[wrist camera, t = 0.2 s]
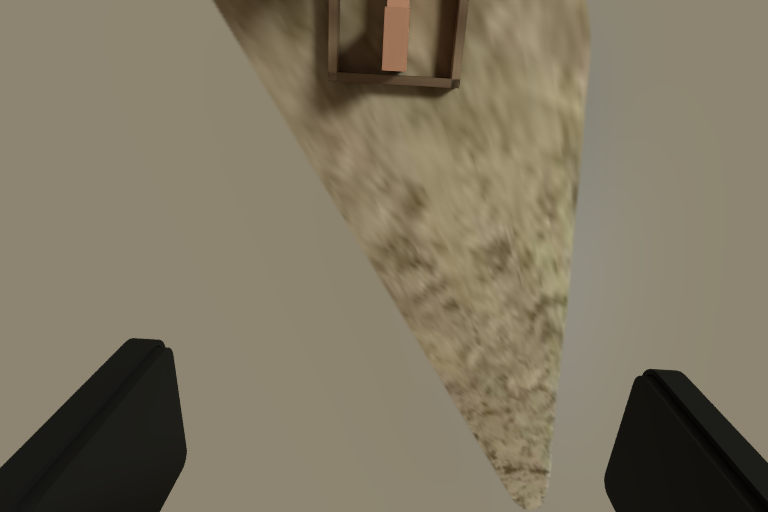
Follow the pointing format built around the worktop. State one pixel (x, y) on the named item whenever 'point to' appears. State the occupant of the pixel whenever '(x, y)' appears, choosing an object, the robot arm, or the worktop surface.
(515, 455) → the worktop surface
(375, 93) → the worktop surface
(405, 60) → the sled
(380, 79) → the lane frame
